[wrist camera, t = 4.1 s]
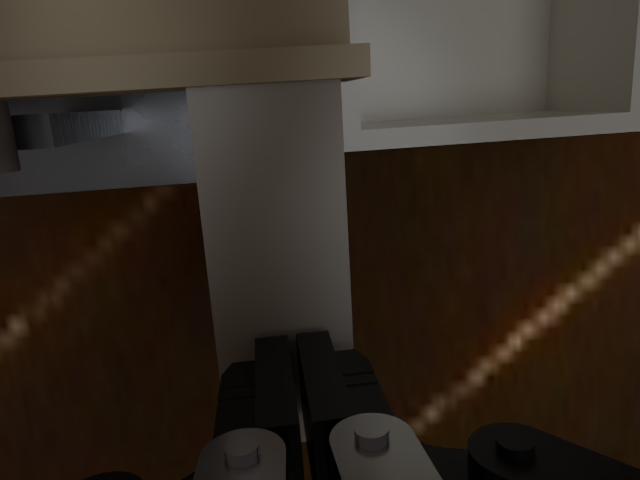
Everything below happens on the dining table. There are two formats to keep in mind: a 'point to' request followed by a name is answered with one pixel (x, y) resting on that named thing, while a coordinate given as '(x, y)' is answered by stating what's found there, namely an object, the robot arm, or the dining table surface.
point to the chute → (223, 138)
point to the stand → (100, 143)
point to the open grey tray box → (491, 71)
